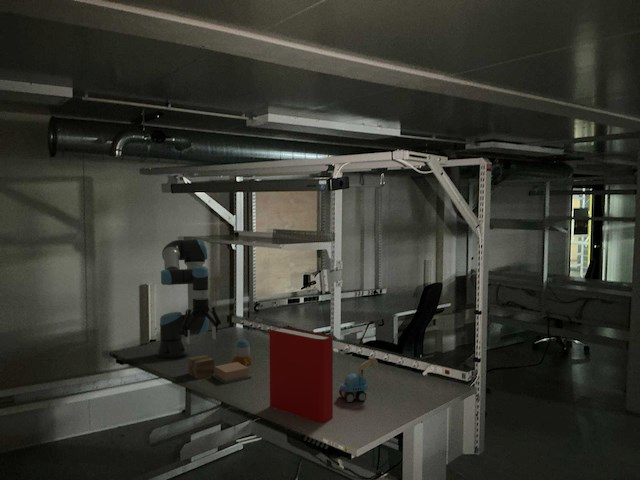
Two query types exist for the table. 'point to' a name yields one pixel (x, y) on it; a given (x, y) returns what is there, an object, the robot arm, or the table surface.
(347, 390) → the toy excavator
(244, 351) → the toy rocket
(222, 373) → the build base
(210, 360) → the walnut brick
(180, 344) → the robot arm
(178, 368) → the table surface
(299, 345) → the book
